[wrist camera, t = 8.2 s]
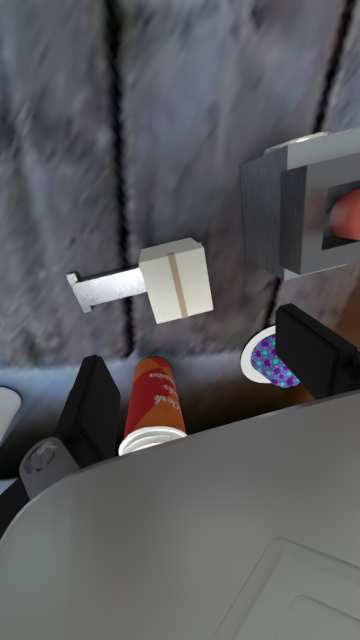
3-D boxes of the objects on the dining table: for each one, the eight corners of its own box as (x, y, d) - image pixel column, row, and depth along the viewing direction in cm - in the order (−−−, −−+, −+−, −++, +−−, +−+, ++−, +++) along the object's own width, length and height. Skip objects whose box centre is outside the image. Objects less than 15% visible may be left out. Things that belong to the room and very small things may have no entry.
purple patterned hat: (285, 383, 40) (303, 406, 36) (228, 375, 37) (239, 399, 33) (321, 329, 35) (348, 347, 30) (258, 314, 32) (276, 332, 28)
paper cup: (184, 378, 36) (203, 468, 23) (142, 394, 36) (139, 491, 24) (165, 342, 32) (176, 428, 20) (118, 361, 33) (101, 456, 20)
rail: (68, 273, 26) (63, 277, 24) (200, 240, 26) (203, 243, 24) (85, 310, 28) (82, 315, 27) (206, 280, 28) (209, 284, 27)
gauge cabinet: (234, 162, 23) (310, 124, 12) (299, 146, 23) (429, 95, 12) (241, 259, 28) (298, 293, 17) (294, 246, 28) (383, 272, 17)
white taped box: (140, 249, 25) (138, 263, 19) (190, 236, 25) (203, 246, 19) (155, 298, 28) (157, 324, 22) (199, 287, 28) (213, 310, 22)
